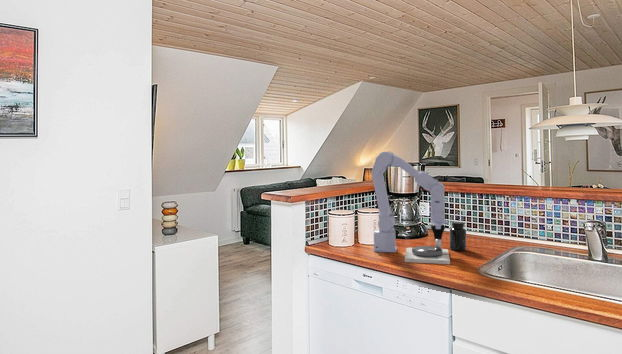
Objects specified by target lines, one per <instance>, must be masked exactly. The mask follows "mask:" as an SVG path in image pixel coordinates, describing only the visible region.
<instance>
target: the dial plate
mask: <svg viewBox="0 0 622 354" xmlns="http://www.w3.org/2000/svg"><path fill="white" fill-rule="evenodd" d="M412 248H413V247H406V251H405V255H404V262H405V263H419V264H421V263H422V264H437V265H439V264H440V265H451V260H450V259H451V258H450V254H449V249H448V248H441V249H442V255H440V256H436V257H423V256H417V255H414V254H413V253H412Z"/></svg>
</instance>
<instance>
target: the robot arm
mask: <svg viewBox="0 0 622 354" xmlns="http://www.w3.org/2000/svg"><path fill="white" fill-rule="evenodd" d="M390 166H391V167H394V168H395V167H396V168H400V169H402V170H403V171H405V172H406V173H407V174H409V175H410V176H412V177H413V178H414V182H415V183H416V184H417V185H418V186H420V187H421V188H423V189H424V190H426V191H429V193H430V220H429V221H430V222H429V223H430V224H431V225H430V228H431V230H432V233H433V236H434V237H433V238H434V240H435V239H441V240H442V239H443V233H444V231H445V229H446V226H445V225H446V224H449V221H447V220H446V212H445V211H446V209H445V207H446V205H445V203H446V201H445V192H446V191H445V190H446V189H445V186H444V184H443V182H441V181H439V180H438V179H435V178H433V177H432V175H429V172H428V171H424V170H420V171H419V170H417V168H415V167H413V166H412V165H411V163H409V162H407V161H406V160H405V159H403V158H402V157H400V156H398V155H397V154H395V153H394V152H392V151H388V150H387V151H382V152H380V153H379V154H378V155H377V156H376V158H375V159H374V163H373V166H372V168H371V176H372V183H373V186H374V192H375V196H376V197H375V198H376V203H377V207H378V208H377V209H378V222H377V226H378V229H377V230H374V233H373V251H374V252H375V253H376V252H377V253H378V252H379V253H381V252H382V253H396V252H397V251H398V246H396V244H397V242H396V239H397V238H396V228H395V227H394V226H395V225H396V218H395V216H394V215H393V211H392V209H391V206H390V202H389V197H388V192H387V191H388V190H387V186H386V182H385V178H384V173H385V172H386V170H387V169H388V168H389V167H390Z"/></svg>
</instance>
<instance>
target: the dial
mask: <svg viewBox="0 0 622 354" xmlns="http://www.w3.org/2000/svg"><path fill="white" fill-rule="evenodd" d="M434 243H435V245H434V246H432V245H418V246H413V247H411V248H412V253H413V254H414V255H417V256H423V257H436V256H440V255H442V249H443V248H442V239H435V238H434Z"/></svg>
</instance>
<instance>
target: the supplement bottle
mask: <svg viewBox="0 0 622 354" xmlns="http://www.w3.org/2000/svg"><path fill="white" fill-rule="evenodd" d="M464 227H465V223H464V222H463V221H452V222H451V228H450V229H449V250H451V251H454V252H455V251H456V252H463V251H464V252H465V251H466V250H467V230H466V228H464Z"/></svg>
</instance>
